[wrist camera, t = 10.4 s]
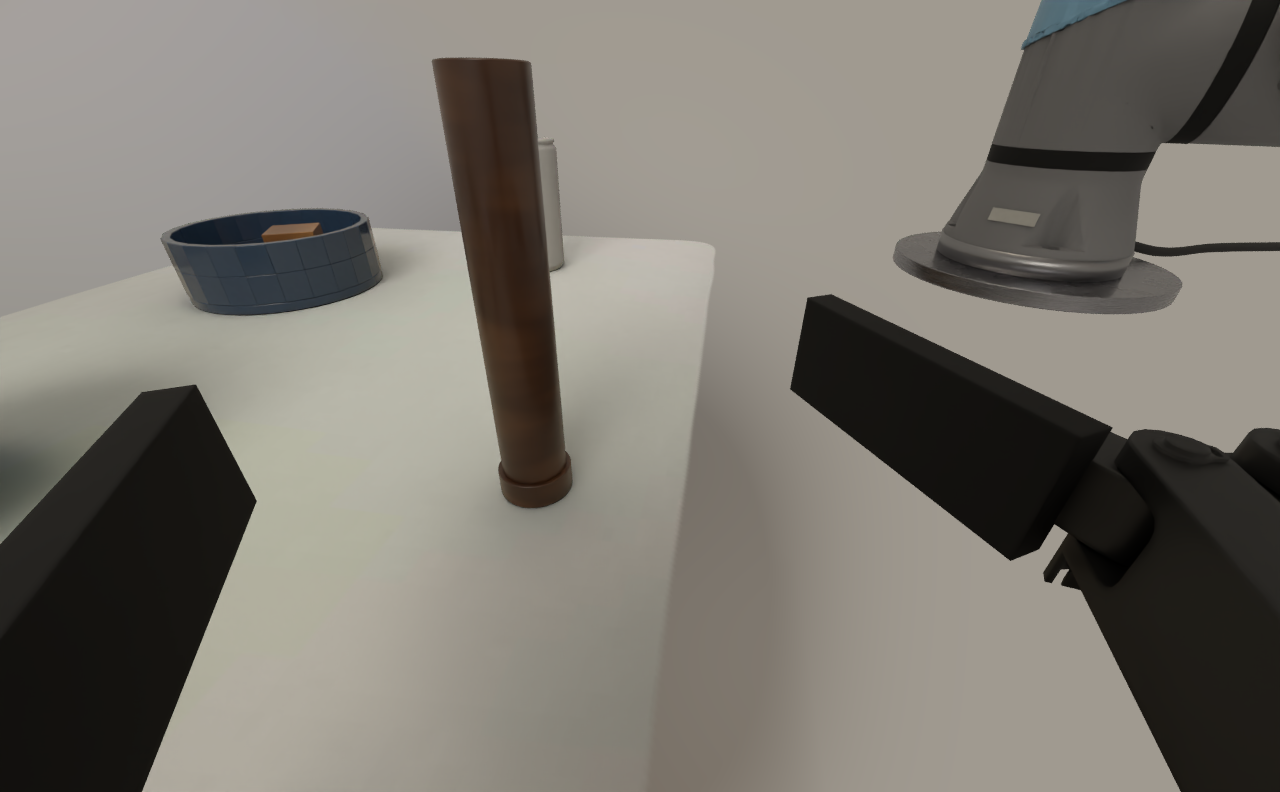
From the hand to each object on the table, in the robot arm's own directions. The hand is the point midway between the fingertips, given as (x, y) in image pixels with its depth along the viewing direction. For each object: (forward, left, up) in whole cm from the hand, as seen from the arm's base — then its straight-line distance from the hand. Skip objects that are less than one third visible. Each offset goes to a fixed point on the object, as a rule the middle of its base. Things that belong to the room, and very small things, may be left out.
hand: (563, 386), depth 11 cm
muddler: (0, -8, -10) cm, 13 cm away
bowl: (+16, -44, -10) cm, 48 cm away
